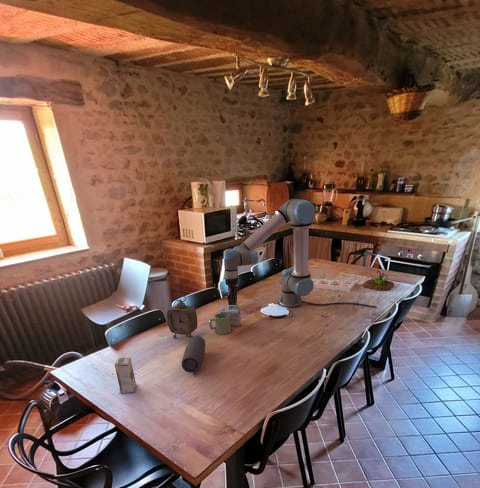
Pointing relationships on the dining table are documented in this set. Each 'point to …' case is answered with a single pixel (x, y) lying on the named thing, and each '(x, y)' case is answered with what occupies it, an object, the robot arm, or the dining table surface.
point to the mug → (221, 323)
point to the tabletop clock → (182, 318)
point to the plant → (379, 283)
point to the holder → (329, 284)
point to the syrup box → (125, 374)
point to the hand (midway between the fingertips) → (233, 315)
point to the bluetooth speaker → (193, 354)
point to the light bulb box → (232, 313)
